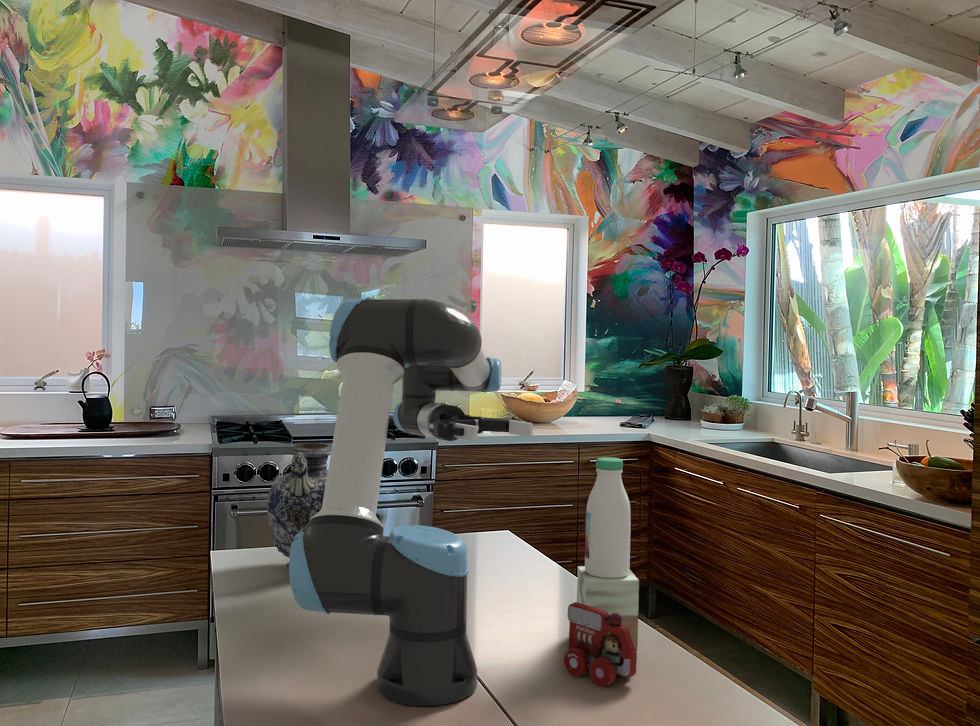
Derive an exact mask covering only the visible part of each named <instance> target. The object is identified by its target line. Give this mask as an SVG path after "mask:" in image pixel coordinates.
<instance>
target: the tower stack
mask: <svg viewBox="0 0 980 726" xmlns="http://www.w3.org/2000/svg"><path fill="white" fill-rule="evenodd" d="M576 579H577V583H576V584H577V585H576V602H577V603H581V604H584V605H587V606H591V607H594V608H597V609H601V610H604V611H606V612H608V614H609V615H611V614H612V613H618V614H620V615H621V617H622V623H621V624H620V625H624V626H626V627H627V628H628V630H629V632H630V635H631V638H632V641H633V644H634V647H635V650H636V651H638V646H639V645H638V642H639V641H638V639H639V635H638V634H639V633H638V632H639V597H640V595H639V594H640V593H639V591H640V579H639V578H638V577H636V575H635V574H634V572H632V570H631V569H630V568H629V573H628V575H627V576H625V577H621V578H601V577H595V576H592V575H590V574H588V573H587V572H586V570H585V565H584V566H583V565H580V566H578V565H577V578H576ZM609 634H611V633H608V634H607V635H609Z"/></svg>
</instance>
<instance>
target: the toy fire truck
mask: <svg viewBox="0 0 980 726" xmlns="http://www.w3.org/2000/svg"><path fill="white" fill-rule="evenodd" d="M567 619H568V621H569V630H568V645H567V646H568V649H567V651H566V652H565V653H564V656H563V665H564V668H565V671H567V673H568V674H569V675H571V676H572V677H580V676H582V675H584V674H586V673H587V671H588V670H589V675H590V678H591V679H592V681H593V683H595V684H596V685H598V686H599V687H607V686H609V685H612V684H613V682H615V678H616V675H617V676H618V677H624V678H627V679H628V678H632V677H634V676H635V675H636V673H637V661H638V652H637V650H635V647H634V644H633V641H632V638H631V635H630V632H629V630H628V628H627V627H626V626H624V625H620V624H621V623H622V617H621V615H620V614H618V613H612V614H611V615H609V614H608V612H606V611H604V610H601V609H597V608H594V607H591V606H587V605H584V604H581V603H577V601H576V602H572V603H570V604H569V605H568V607H567ZM608 633H611V634H609V635H607V634H608Z"/></svg>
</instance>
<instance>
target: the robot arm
mask: <svg viewBox="0 0 980 726" xmlns="http://www.w3.org/2000/svg"><path fill="white" fill-rule="evenodd" d="M331 320H332V321H331V324H330V329H329V337H330V338H329V341H328V347H329V350H328V351H329V354H330V357H331V359H332V360H333V362H334V363H336V369H337V371H338V372H339V373H340V375H342V376H343V379H342V385H341V391H340V397H339V402H338V409H337V415H336V420H335V426H334V427H335V428H334V433H333V439H332V445H331V455H329V456H330V457H329V462H328V467H327V470H328V474H327V480H326V486H325V492H324V498H323V504H322V509H321V510H320V511H319V512H318V513H317V514H315V515H314V516H312V517H311V518H310V521H309V527H308V532H303V531H302V532H301V533H298V534H296V536H295V537H294V541H293V542H292V544H291V549H290V557H288V558H289V560H288V562H289V573H288V574H289V581H290V582H289V583H290V587H291V591H292V593H291V594H292V596H293V598H294V600H295V602H296V604H297V605H298V607H300V608H302V610H305V611H308V612H309V611H311V612H317V613H319V612H320V613H323V614H326V615H330V614H331V613H333V614H351V615H352V614H353V615H354V614H356V615H369V616H385V617H386V616H388V617H389V628H388V629H389V631H388V632H389V633H388V638H387V640H386V644H385V646H384V649H383V653H382V655H381V659H380V661H379V665H378V668H377V671H376V672H377V673H376V688H377V691H378V693H380V695H382V696H383V697H385V698H386V699H388V700H389V701H392V702H395V703H398V704H402V705H406V706H416V707H434V706H435V707H436V706H443V705H448V704H452V703H456V702H457V703H458V702H459V701H463V700H464V699H466V698H468V697H469V696H470V695H472V694H473V693H474V692H475V691H476V690H477V688H478V668H477V665H476V661H475V656H474V654H473V651H472V647H471V645H470V642H469V637H468V635H467V620H468V619H467V616H468V609H467V608H468V607H467V606H468V600H467V599H468V574H469V571H470V568H469V565H468V548H467V545H466V543H465V541H464V540H463V538H461V537H460V536H459V535H458V534H455V533H453V532H452V531H449V530H445V529H442V528H439V527H434V526H428V525H420V524H419V525H418V524H414V525H406V524H405V525H399V526H395V527H394V528H393V529H392V530H391V532H390V534H389V536H388V535H387V536H385V535H384V532H385V531H384V530H385V527H384V525H383V524H382V522H381V521H380V520H379V518H378V517H377V510H378V509H377V508H378V502H379V496H380V488H381V480H382V473H383V467H384V465H383V464H384V459H385V450H386V444H387V437H388V431H389V429H388V428H389V421H390V413H391V405H392V397H393V392H394V384H396V383H398V382H399V381H400V380H402V381H401V382H402V385H401V386H402V387H401V388H402V389H401V391H402V392H401V393H402V394H401V401H400V402H398V403H397V404H396V406H395V408H394V410H393V412H392V419H393V423H394V425H395V427H396V428H397V429H398V430H399V431H401V432H404V433H407V434H409V435H412V436H413V435H414V436H421V437H427V438H432V440H433V441H434V442H437V440H438V439H439V440H443V441H447V442H453V441H454V442H455V441H457V440H458V439H461V440H468V441H470V442H471V441H472V442H478V438H479V437H478V434H482V433H484V432H488V433H489V432H491V433H493V432H494V433H508V434H510V435H516V436H521V437H527V438H528V437H529V438H530V437H531V438H532V437H533V426H534V425H533V424H534V423H533V422H530V421H529V422H527V421H522V420H521V419H518V418H516V417H515V416H511V418H499V417H498V418H496V417H487V416H486V417H485V416H473V415H470V414H465V412H464V410H462V408H460V407H459V406H456V405H452V404H444V403H440V402H439V403H438V402H436V398H437V395H436V393H437V391H438V392H439V391H441V392H442V391H443V392H473V393H474V392H475V393H478V392H479V393H489V392H490V393H491V392H493V393H495V392H498V391H499V390H500V389H501V386H502V371H503V370H502V361H501V360H500V359H499V358H492V357H489V356H488V357H486V355H485V354H484V351H483V349H482V343H483V342H482V341H483V340H482V335H481V333H480V329H479V328H478V326H477V325H476V323H475V322H474V321H473V320H472V319H471V318H470V317H469V316H468V315H466V314H465V313H464V312H462V311H460V310H459V309H457V308H455V307H453V306H452V305H449V304H446V303H445V302H441V301H438V300H434V299H429V298H418V299H417V298H372V297H369V296H367V297H362V298H351V299H347V300H345V301H343V302H342V303H340V305H339V306H338V308H337V309H336V311H335V313H334V314H333V317H332V319H331Z"/></svg>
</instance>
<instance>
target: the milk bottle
mask: <svg viewBox="0 0 980 726" xmlns="http://www.w3.org/2000/svg"><path fill="white" fill-rule="evenodd" d="M623 462H624V461H623V459H622V458H618V457H608V456H607V457H598V458H596V459H595V467H596V469H595V472H596V473H597V474H596V475H597V476H596V479H595V482H594V485H593V487H592V489H591V492H590V494H589V497H588V499H587V504H586V513H585V514H586V515H585V537H584V538H585V540H584V541H585V544H584V546H585V547H584V566H585V570H586V572H587V573H588V574H590V575H592V576H595V577H601V578H621V577H625V576H627V575H628V573H629V569H630V565H631V564H630V561H631V503H630V499H629V497H628V493H627V491H626V489H625V486H624V484H623V479H622V473H623V467H624V463H623Z"/></svg>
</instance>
